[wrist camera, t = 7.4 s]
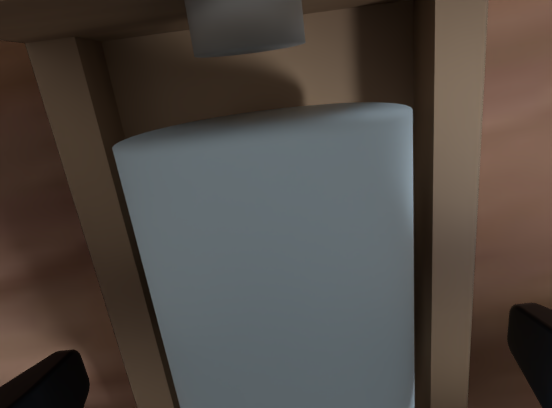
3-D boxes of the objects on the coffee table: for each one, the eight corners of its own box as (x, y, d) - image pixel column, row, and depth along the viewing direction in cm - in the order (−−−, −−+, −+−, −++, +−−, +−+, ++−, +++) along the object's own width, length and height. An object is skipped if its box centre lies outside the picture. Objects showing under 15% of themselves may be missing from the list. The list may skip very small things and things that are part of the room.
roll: (385, 395, 12) (452, 611, 7) (226, 407, 12) (188, 621, 7) (374, 96, 9) (474, 123, 4) (165, 122, 9) (39, 174, 4)
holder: (436, 438, 14) (528, 647, 9) (186, 460, 14) (137, 673, 9) (445, -49, 9) (665, -209, 4) (63, 4, 9) (-191, -79, 4)
